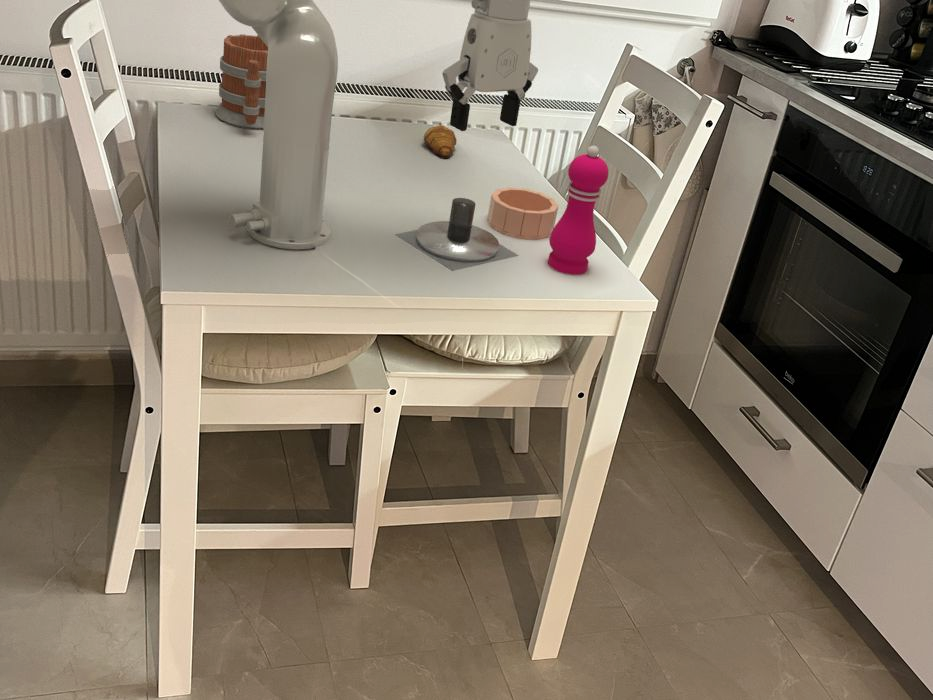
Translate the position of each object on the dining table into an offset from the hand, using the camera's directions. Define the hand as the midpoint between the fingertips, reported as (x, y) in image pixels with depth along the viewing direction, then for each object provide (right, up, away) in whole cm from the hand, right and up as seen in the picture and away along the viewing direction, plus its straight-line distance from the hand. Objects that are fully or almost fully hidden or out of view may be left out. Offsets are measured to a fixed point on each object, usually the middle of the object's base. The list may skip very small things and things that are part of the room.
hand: (483, 125), depth 148 cm
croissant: (-8, +7, +52) cm, 53 cm away
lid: (-4, -17, +9) cm, 20 cm away
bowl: (+7, -13, +21) cm, 25 cm away
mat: (-4, -17, +9) cm, 20 cm away
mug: (-45, +11, +47) cm, 66 cm away
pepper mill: (+13, -21, +9) cm, 26 cm away
